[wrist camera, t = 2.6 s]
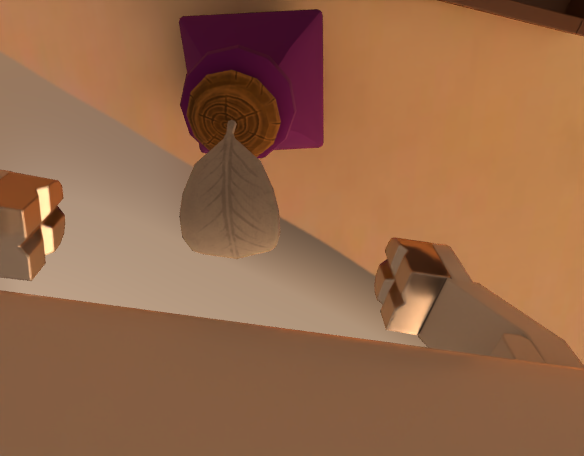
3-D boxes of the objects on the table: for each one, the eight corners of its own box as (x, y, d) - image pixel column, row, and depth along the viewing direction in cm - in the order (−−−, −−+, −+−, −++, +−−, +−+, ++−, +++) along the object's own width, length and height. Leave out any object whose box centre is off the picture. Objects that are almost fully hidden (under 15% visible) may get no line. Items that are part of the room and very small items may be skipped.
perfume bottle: (189, 11, 25) (39, 78, 9) (318, 4, 25) (377, 61, 9) (208, 135, 29) (123, 327, 13) (319, 130, 29) (363, 315, 13)
